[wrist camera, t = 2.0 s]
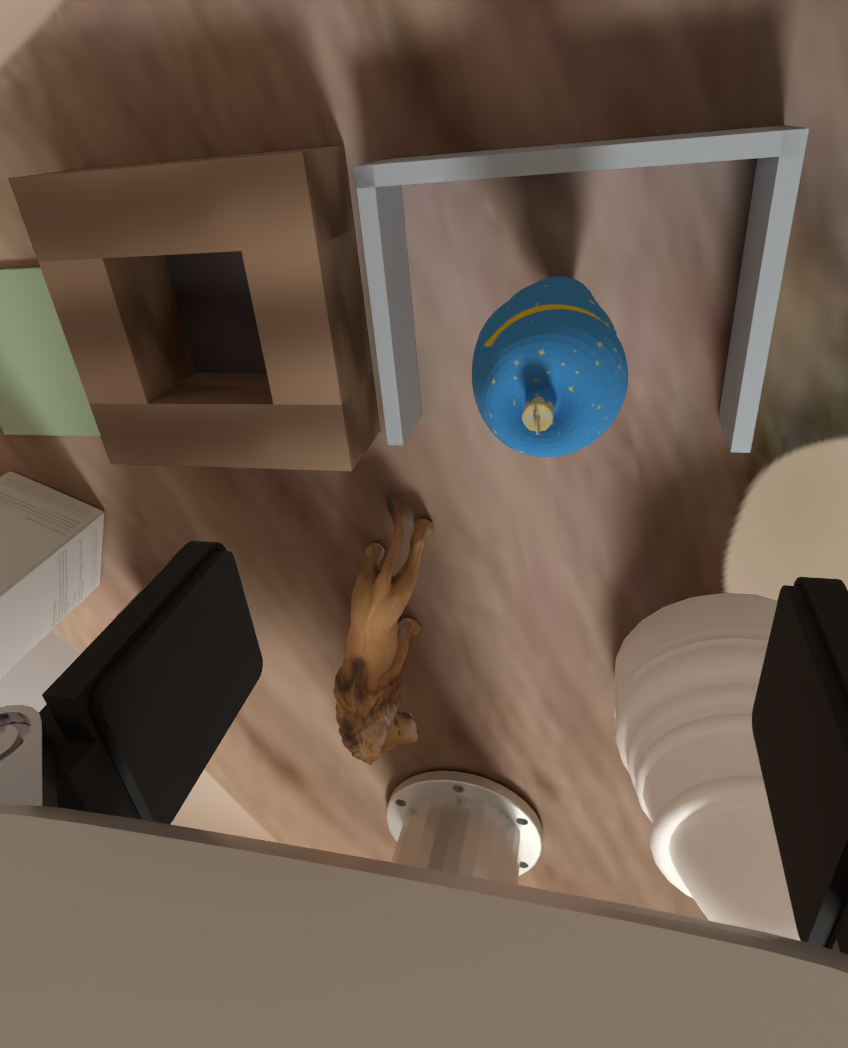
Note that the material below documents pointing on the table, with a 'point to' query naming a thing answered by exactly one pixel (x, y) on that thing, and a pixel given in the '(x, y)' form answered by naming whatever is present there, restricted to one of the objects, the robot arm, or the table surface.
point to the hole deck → (212, 307)
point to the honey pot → (704, 755)
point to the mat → (37, 363)
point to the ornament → (549, 369)
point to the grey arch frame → (769, 145)
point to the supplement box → (42, 561)
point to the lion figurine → (379, 648)
